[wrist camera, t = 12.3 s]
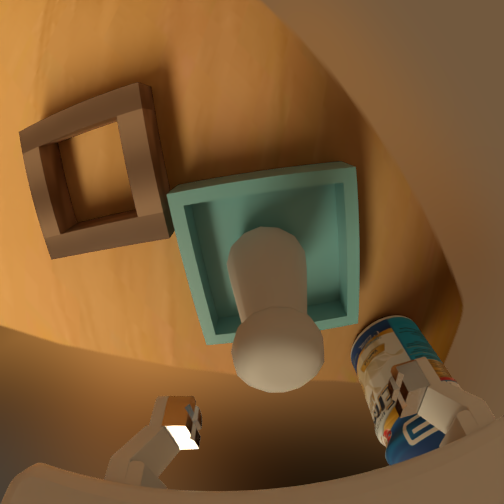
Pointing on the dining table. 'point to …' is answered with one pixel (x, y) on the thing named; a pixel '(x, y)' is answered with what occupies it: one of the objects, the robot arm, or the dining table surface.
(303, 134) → the dining table surface
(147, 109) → the socket collar
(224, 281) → the tray
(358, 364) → the beverage bottle
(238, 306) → the salt shaker
